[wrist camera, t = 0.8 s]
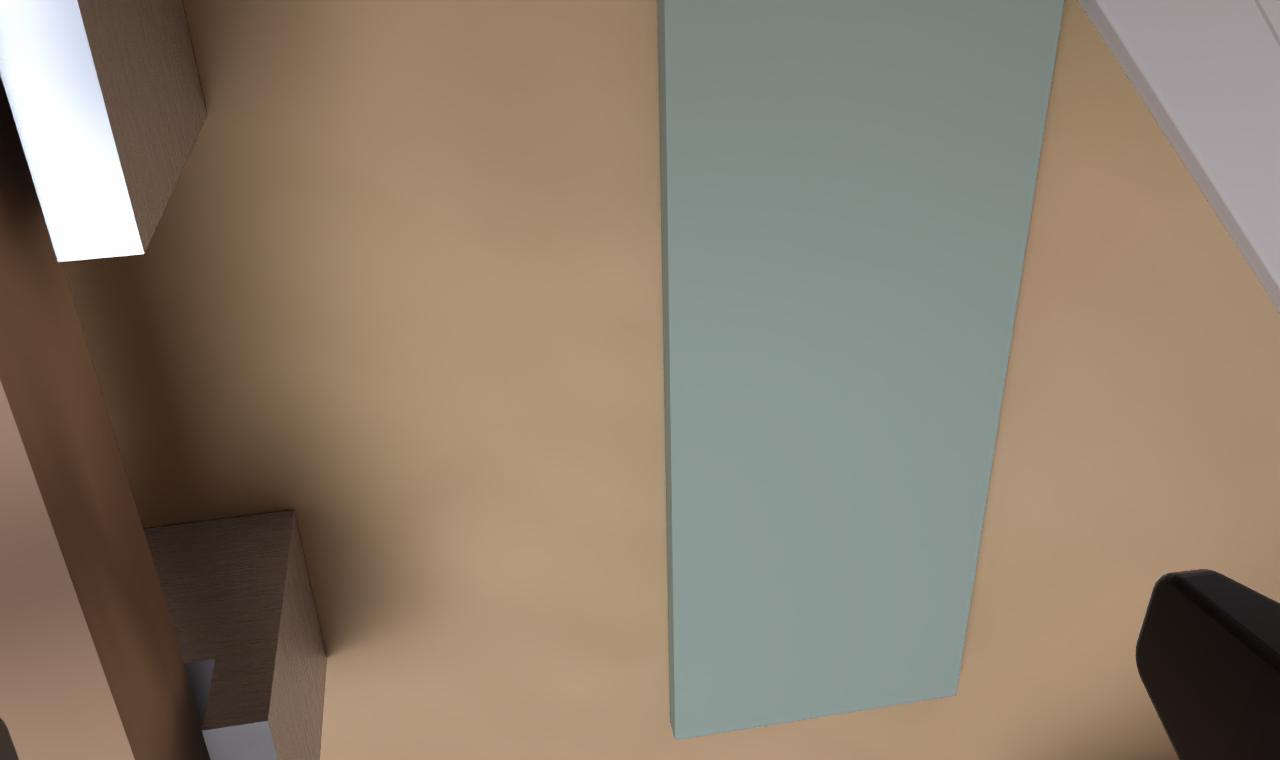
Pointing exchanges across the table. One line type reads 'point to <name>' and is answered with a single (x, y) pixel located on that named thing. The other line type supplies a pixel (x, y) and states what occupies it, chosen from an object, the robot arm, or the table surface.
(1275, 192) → the baseboard
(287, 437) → the table surface
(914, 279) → the mat
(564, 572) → the table surface
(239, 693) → the grey block
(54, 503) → the rail
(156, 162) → the grey notched block
